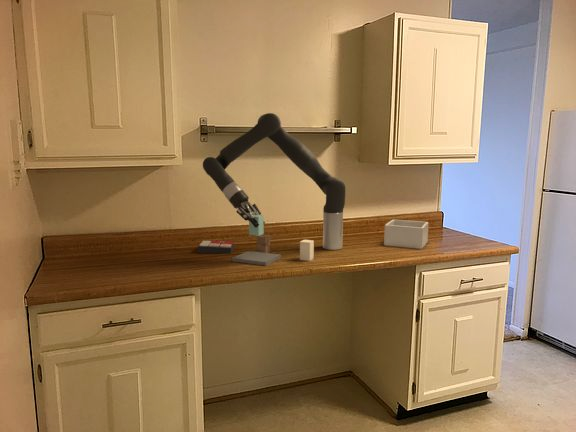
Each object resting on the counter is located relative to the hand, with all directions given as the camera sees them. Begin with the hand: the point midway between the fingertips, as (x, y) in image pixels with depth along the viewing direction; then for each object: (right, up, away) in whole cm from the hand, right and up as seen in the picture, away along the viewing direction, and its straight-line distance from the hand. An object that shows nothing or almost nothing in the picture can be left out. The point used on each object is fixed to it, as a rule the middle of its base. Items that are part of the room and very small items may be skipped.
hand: (260, 225), depth 198 cm
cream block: (+20, -15, +4) cm, 25 cm away
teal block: (-2, -4, +1) cm, 5 cm away
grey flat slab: (-2, -15, +3) cm, 15 cm away
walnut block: (0, -13, +15) cm, 20 cm away
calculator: (-22, -13, +19) cm, 32 cm away
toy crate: (+70, -10, +36) cm, 80 cm away
